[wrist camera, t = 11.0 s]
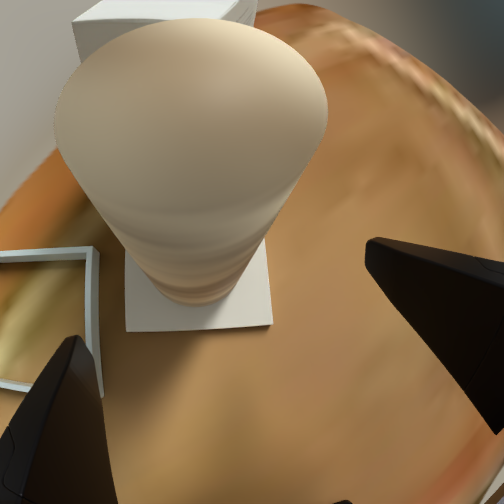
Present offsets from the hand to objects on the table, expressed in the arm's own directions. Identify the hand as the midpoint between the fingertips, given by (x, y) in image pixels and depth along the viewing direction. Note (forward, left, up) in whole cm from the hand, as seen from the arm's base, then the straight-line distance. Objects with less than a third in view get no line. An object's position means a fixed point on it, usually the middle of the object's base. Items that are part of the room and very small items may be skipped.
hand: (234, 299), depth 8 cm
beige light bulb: (+4, +1, -10) cm, 11 cm away
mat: (+4, +1, -11) cm, 12 cm away
